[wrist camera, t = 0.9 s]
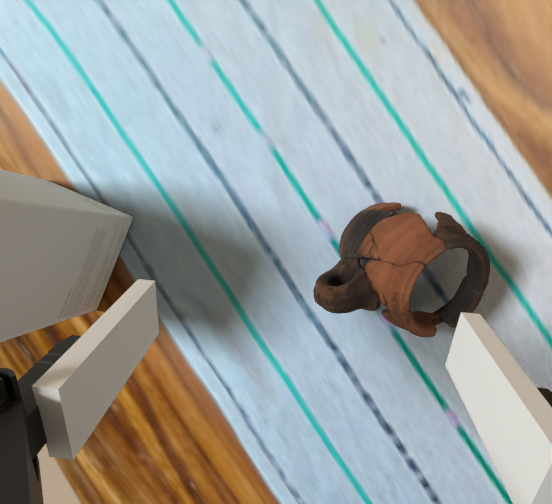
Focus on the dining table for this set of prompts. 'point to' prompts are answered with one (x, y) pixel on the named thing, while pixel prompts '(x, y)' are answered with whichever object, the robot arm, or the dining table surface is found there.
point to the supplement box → (52, 253)
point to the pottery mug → (399, 268)
